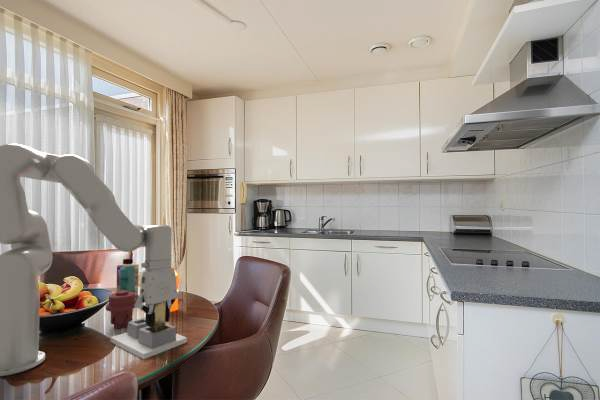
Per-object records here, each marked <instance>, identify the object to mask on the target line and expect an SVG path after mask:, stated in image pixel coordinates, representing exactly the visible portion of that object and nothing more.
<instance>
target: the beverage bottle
mask: <svg viewBox="0 0 600 400" xmlns="http://www.w3.org/2000/svg"><path fill="white" fill-rule="evenodd" d="M122 264H134V259H133V258H124V259H122ZM119 279H120V280H119V281H120V284H119V291H123V290H127V291H128V292H134V293H135V267H134V266H123V267H122V268H121V269H120V278H119Z"/></svg>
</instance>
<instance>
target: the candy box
mask: <svg viewBox="0 0 600 400" xmlns="http://www.w3.org/2000/svg"><path fill="white" fill-rule="evenodd" d="M123 266H134V267H135V297H136V296H138V295H139V263H132V264H123V263H122V264H118V265H116V292H118V291H119V284H120V281H119V280H120V279H119V278H120V269H121V268H122V267H123ZM116 292H115V293H116Z"/></svg>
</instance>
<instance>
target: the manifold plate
mask: <svg viewBox="0 0 600 400" xmlns="http://www.w3.org/2000/svg"><path fill="white" fill-rule="evenodd" d="M187 341H188V339H187V337H186V336H184V335H181V334H179V333H177V326H174V325H171V324H168V323H166V329H164V330H161V331H158V332H155V333H153V332H150V327H149V326H147V325H146V317H142V318H138V319H135V320H132V321H131V322H128V326H127V332H123V333H121V334H117V335H114V336H110V343H112V344H113V345H115V346H118V347H119V348H121V349H122V350H125V351H127V352H129V353H131V354H133V355H135V356H136V357H139V358H141V359H142V360H146V359H148V358H150V357H153V356H156V355H159V354H160V353H163V352H166V351H168V350H171V349H173V348H177V347H179V346H181V345H183V344H186V343H187Z"/></svg>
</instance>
